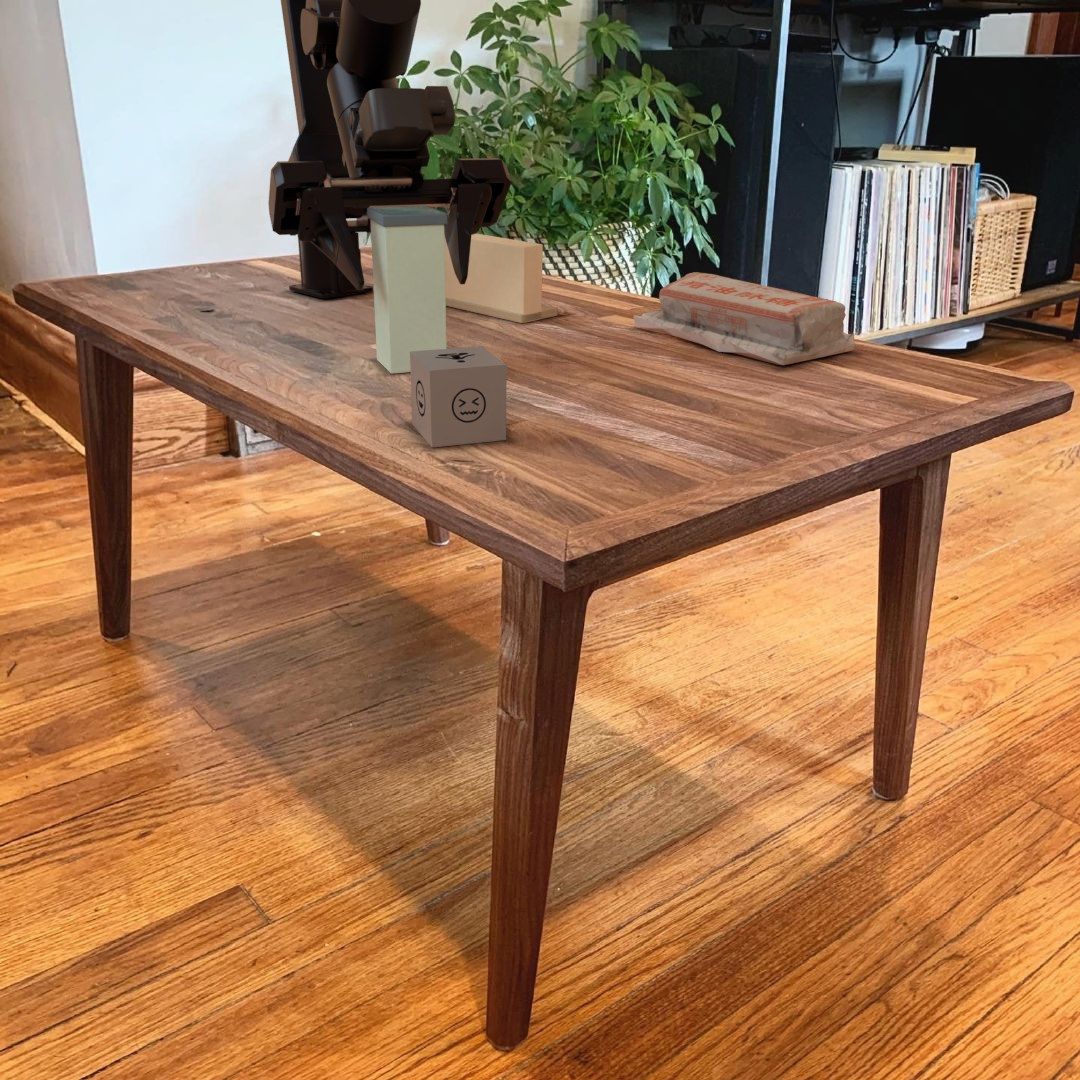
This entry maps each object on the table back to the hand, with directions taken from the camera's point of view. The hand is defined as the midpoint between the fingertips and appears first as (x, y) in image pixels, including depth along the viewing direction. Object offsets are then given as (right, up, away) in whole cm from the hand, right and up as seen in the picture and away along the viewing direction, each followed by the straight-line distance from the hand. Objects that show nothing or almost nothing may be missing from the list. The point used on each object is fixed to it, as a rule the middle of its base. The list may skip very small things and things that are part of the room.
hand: (413, 284), depth 83 cm
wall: (+4, +3, +23) cm, 24 cm away
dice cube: (+4, -13, -12) cm, 18 cm away
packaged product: (+28, -2, +13) cm, 31 cm away
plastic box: (-1, -6, +4) cm, 7 cm away
